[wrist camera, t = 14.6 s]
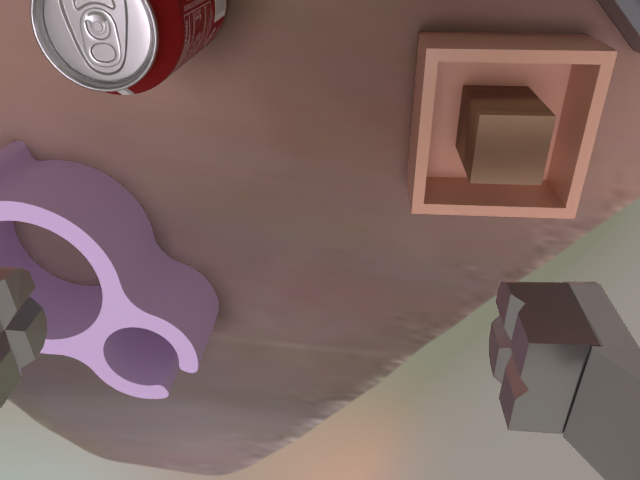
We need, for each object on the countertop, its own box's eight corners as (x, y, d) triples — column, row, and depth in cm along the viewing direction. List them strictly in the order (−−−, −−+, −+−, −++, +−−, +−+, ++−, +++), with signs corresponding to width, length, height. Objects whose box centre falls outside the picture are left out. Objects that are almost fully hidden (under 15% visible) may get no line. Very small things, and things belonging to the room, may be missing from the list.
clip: (250, 283, 45) (233, 339, 39) (162, 363, 50) (135, 424, 44) (31, 113, 39) (-30, 149, 33) (-44, 224, 44) (-107, 272, 38)
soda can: (223, -70, 33) (157, -63, 22) (234, 50, 36) (182, 106, 26) (110, -68, 33) (-7, -59, 23) (132, 51, 36) (39, 106, 26)
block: (463, 85, 35) (479, 114, 30) (528, 86, 35) (556, 116, 30) (455, 145, 37) (469, 183, 32) (516, 147, 37) (541, 185, 32)
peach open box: (419, 31, 35) (426, 48, 30) (585, 33, 34) (617, 51, 30) (406, 180, 40) (411, 213, 35) (551, 185, 39) (574, 218, 35)
